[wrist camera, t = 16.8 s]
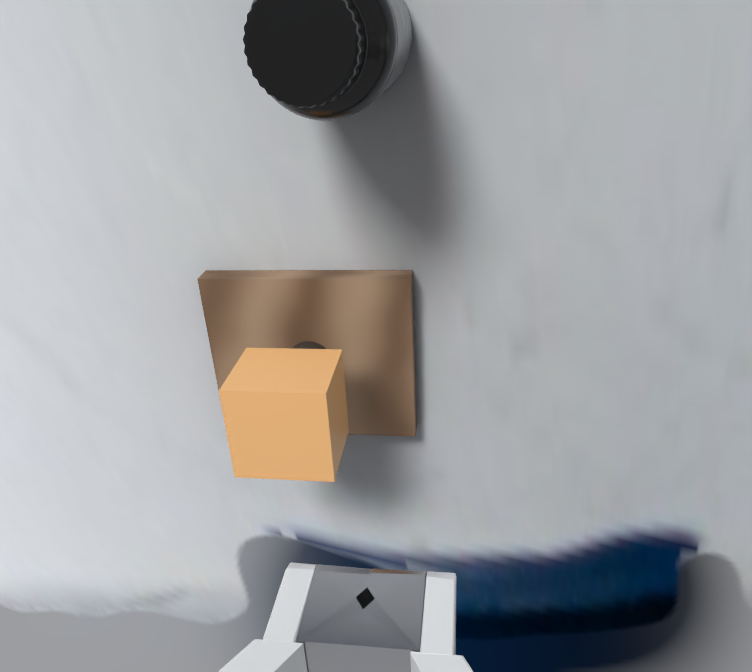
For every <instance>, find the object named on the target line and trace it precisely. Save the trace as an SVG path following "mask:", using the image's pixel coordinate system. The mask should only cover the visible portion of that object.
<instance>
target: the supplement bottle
mask: <svg viewBox="0 0 752 672" xmlns="http://www.w3.org/2000/svg"><path fill="white" fill-rule="evenodd" d="M244 31H245V35H244V38H243V41H244V44H245V49H244V53H245V55H246V56H247V63H248V66H249V67H250V68H251V69H252V74H253V76H254V77H255V78H256V79H257V80H258V83H259V85H260V86H261V87H263V88H265V90H266V92H267V93H268V94H269V95H271V96H272V97H273V98H274V99H275V100H276V101H277V102H278V103H279V104H280V105H282V106H283V107H284V108H286V109H288V110H289V111H291V112H293V113H295V114H297V115H299V116H302V117H305V118H309V119H313V120H324V121H326V120H336V119H341V118H345V117H347V116H350V115H353V114H355V113H357V112H359V111H360V110H362V109H364V108H365V107H367V106H368V105H369V104H370V103H371V102H373V101H374V100H375V99H376V98H377V97H379V96H380V95H381V94H382V93H383V92H385V91H386V90H387V89H388V88H389V87H390V86H391V85H392V84H393V83H394V82H395V81H396V80H397V78H398V77H399V76H400V74H401V73H402V71H403V69H404V67H405V65H406V63H407V60H408V57H409V54H410V50H411V43H412V26H411V19H410V15H409V12H408V9H407V6H406V4H405V2H404V0H253V3H252V6H251V9H250V12H249V13H248V14H247V22H246V24H245V26H244Z"/></svg>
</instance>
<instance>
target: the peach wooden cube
mask: <svg viewBox="0 0 752 672" xmlns="http://www.w3.org/2000/svg"><path fill="white" fill-rule="evenodd" d="M219 395H220V400H221V405H222V411H223V416H224V422H225V427H226V432H227V438H228V443H229V449H230V454H231V459H232V465H233V470H234V476H235V477H241V478H262V479H284V480H305V481H326V482H335V479H336V475H337V472H338V468H339V464H340V461H341V457H342V454H343V450H344V447H345V443H346V440H347V436H348V433H349V427H348V414H347V402H346V390H345V378H344V365H343V353H342V349H290V348H246V349H245V351H244V352H243V354H242V355H241V357H240V358H239V360H238V362H237V363H236V365H235V366H234V368H233V369H232V371H231V372H230V374H229V375H228V377H227V379H226V380H225V382H224V383H223V385H222V386H221V388H220V389H219Z"/></svg>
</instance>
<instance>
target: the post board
mask: <svg viewBox="0 0 752 672" xmlns="http://www.w3.org/2000/svg"><path fill="white" fill-rule="evenodd" d="M198 284H199V289H200V295H201V300H202V305H203V310H204V316H205V321H206V326H207V331H208V337H209V342H210V347H211V353H212V358H213V363H214V368H215V374H216V379H217V384H218V390H219V389H220V388H221V386H222V385H223V383H224V382H225V380H226V379H227V377H228V375H229V374H230V372H231V371H232V369H233V368H234V366H235V365H236V363H237V362H238V360H239V358H240V357H241V355H242V354H243V352H244V351H245V349H246V348H290V349H342V353H343V365H344V378H345V390H346V402H347V414H348V427H349V433H348V434H359V435H389V436H415V435H416V428H417V410H416V375H415V340H414V306H413V271H412V270H268V271H205V272H204V273H203V274H202V275H201V276H200V277H199V278H198Z"/></svg>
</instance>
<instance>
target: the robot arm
mask: <svg viewBox="0 0 752 672" xmlns="http://www.w3.org/2000/svg"><path fill="white" fill-rule="evenodd" d="M218 672H473V670H472V669H471V667H470V666H469V664H468V663H467V661H466V660H465V658H464V657H463V656H459V655H456V574H455V573H443V572H427V571H410V570H390V569H363V568H352V567H341V566H329V565H313V564H300V563H290V565H289V566H288V567H287V569H286V571H285V574H284V577H283V580H282V583H281V586H280V589H279V592H278V595H277V598H276V601H275V604H274V608H273V610H272V614H271V616H270V619H269V622H268V625H267V628H266V632H265V635H264V638H263V640H259V639H255V640H253V641H252V642H251V643H250V644H249V645H248V646H247V647H245V648H244V649H243V650H242V651H241V652H240V653H239V654H238V655H236V656H235V657H234V658H233V659H232V660H231V661H230V662H228V663H227V664H226V665H225V666H224V667H223V668H222V669H220V670H219V671H218Z"/></svg>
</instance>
